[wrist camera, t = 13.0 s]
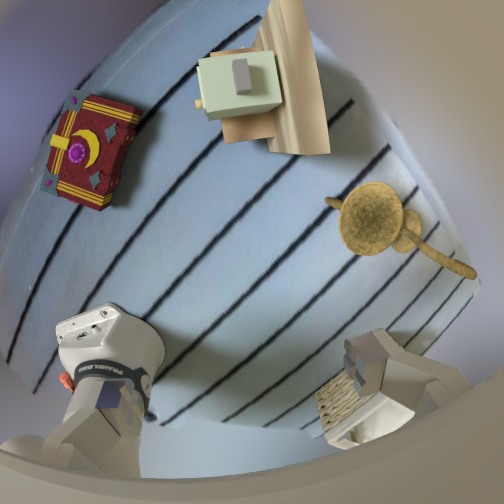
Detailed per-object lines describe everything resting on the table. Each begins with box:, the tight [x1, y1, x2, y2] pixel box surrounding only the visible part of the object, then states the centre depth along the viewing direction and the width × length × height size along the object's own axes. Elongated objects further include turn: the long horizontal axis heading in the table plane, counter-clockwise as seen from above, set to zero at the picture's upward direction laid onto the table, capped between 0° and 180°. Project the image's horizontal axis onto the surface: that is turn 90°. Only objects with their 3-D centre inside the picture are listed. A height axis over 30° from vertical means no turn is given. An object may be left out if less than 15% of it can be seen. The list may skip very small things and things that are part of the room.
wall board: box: [210, 0, 331, 155], centre depth 27 cm, size 10×16×18 cm, turn 9°
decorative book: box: [40, 89, 143, 211], centre depth 33 cm, size 11×16×5 cm
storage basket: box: [314, 333, 415, 450], centre depth 51 cm, size 24×16×15 cm
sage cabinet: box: [195, 51, 282, 121], centre depth 25 cm, size 8×6×10 cm
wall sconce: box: [325, 182, 477, 280], centre depth 31 cm, size 14×10×25 cm
